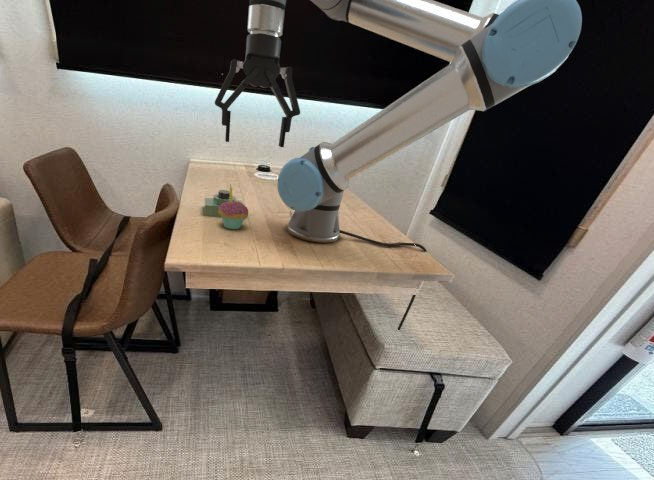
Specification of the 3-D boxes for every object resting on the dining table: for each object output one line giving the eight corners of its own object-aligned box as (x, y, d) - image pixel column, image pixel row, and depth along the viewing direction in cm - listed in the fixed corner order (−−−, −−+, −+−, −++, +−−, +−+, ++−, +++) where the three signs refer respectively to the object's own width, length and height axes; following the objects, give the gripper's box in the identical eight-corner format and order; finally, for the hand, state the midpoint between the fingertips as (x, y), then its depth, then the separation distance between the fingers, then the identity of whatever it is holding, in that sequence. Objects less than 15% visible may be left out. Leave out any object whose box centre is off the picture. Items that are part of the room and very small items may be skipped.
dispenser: (241, 210, 108) (242, 195, 106) (243, 218, 102) (245, 202, 99) (204, 207, 106) (205, 191, 104) (204, 215, 100) (205, 198, 97)
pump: (230, 197, 104) (231, 190, 103) (231, 200, 100) (231, 194, 99) (217, 196, 103) (218, 189, 102) (218, 199, 100) (218, 192, 99)
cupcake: (233, 234, 89) (237, 189, 83) (210, 224, 93) (213, 181, 87) (252, 227, 96) (257, 185, 89) (230, 219, 99) (233, 178, 93)
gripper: (314, 46, 76) (299, 146, 87) (205, 29, 71) (203, 137, 82) (324, 42, 69) (306, 150, 80) (205, 23, 65) (203, 140, 76)
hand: (254, 144), depth 81 cm, fingers open, 13 cm apart
